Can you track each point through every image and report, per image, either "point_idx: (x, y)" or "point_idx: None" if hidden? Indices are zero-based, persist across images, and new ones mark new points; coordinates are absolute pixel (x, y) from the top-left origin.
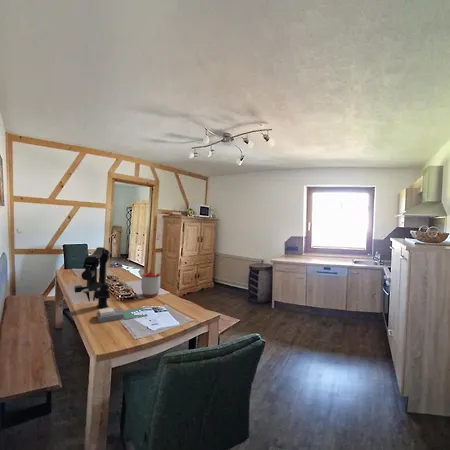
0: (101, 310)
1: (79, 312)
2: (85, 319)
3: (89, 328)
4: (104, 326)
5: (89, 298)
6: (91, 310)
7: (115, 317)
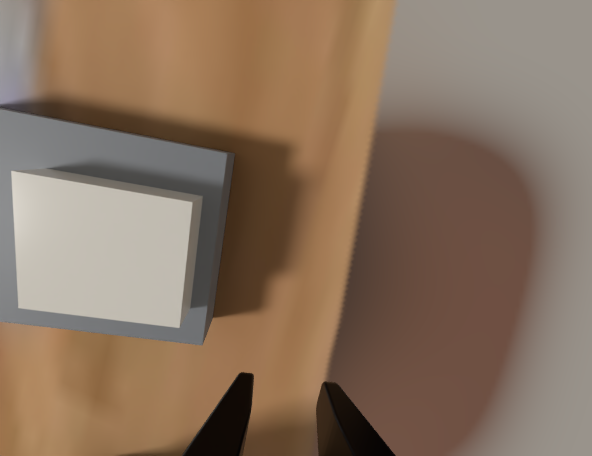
0: (163, 281)
1: (301, 449)
2: (310, 295)
3: (351, 65)
4: (220, 17)
5: (351, 442)
6: None
7: (59, 119)
